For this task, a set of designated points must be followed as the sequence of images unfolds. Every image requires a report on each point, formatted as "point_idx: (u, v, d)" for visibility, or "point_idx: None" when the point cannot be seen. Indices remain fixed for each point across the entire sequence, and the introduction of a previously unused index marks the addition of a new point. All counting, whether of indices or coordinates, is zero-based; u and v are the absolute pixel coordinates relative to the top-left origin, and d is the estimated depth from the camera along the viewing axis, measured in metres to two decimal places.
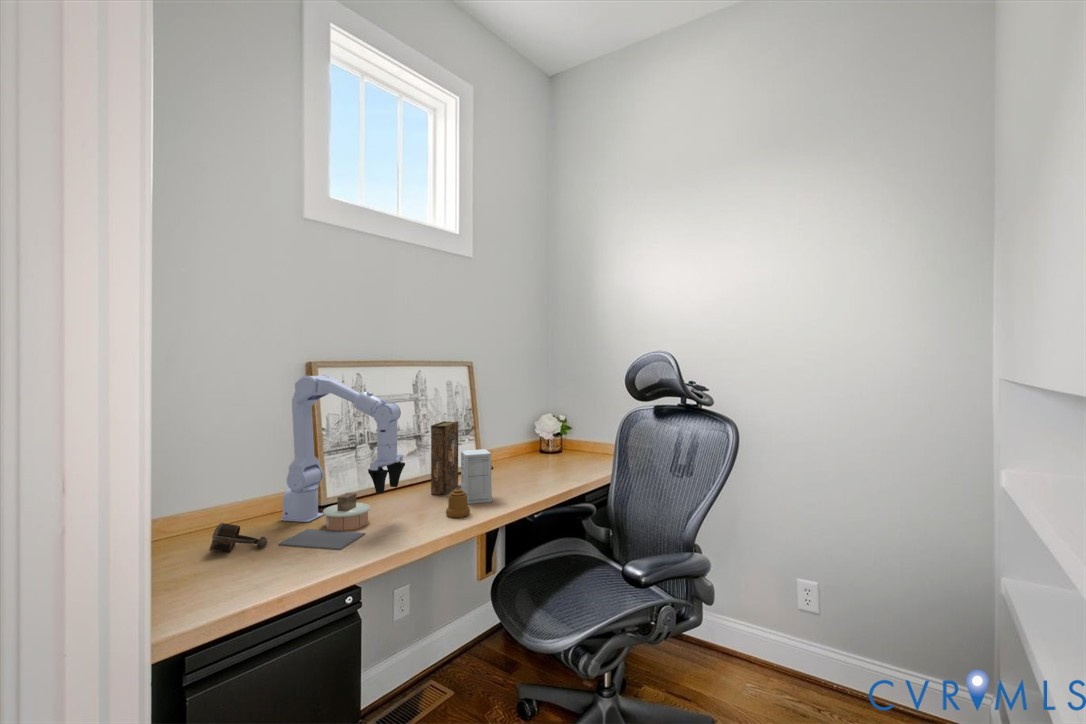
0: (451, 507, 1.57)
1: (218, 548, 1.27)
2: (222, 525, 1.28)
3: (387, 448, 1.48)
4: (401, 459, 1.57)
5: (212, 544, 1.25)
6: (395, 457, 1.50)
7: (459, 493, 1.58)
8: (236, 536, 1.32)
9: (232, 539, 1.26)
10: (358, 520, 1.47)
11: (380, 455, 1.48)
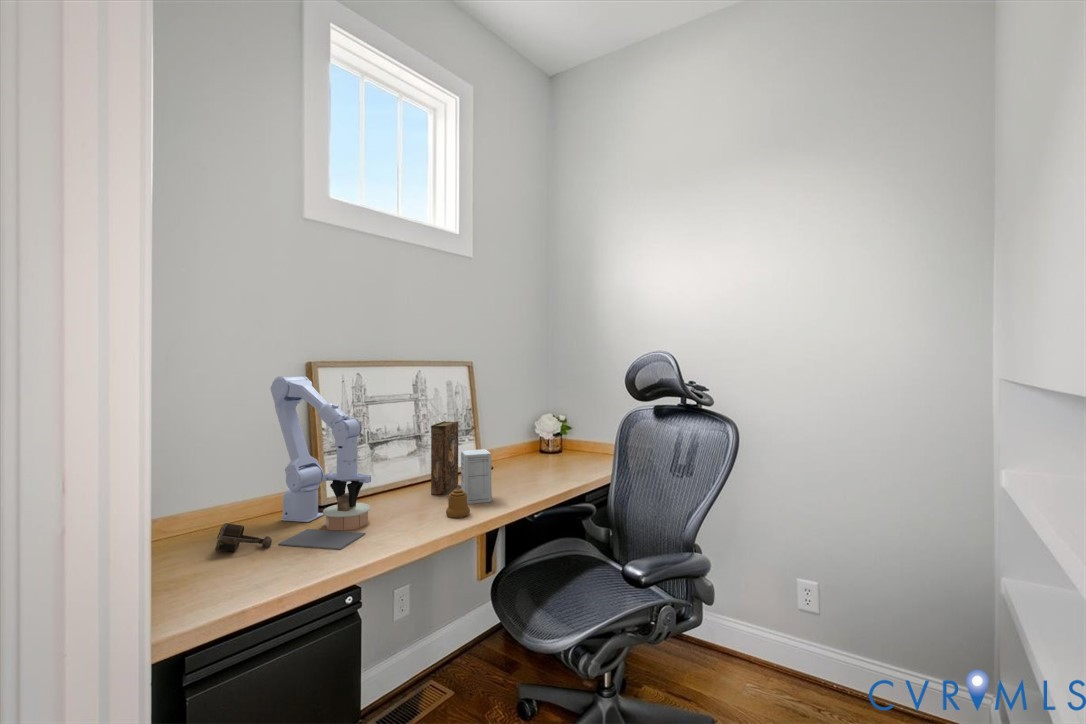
0: (451, 507, 1.57)
1: (223, 548, 1.27)
2: (227, 525, 1.28)
3: None
4: (365, 481, 1.48)
5: (217, 544, 1.25)
6: (341, 475, 1.47)
7: (459, 493, 1.58)
8: (240, 536, 1.32)
9: (237, 539, 1.26)
10: (358, 520, 1.47)
11: None
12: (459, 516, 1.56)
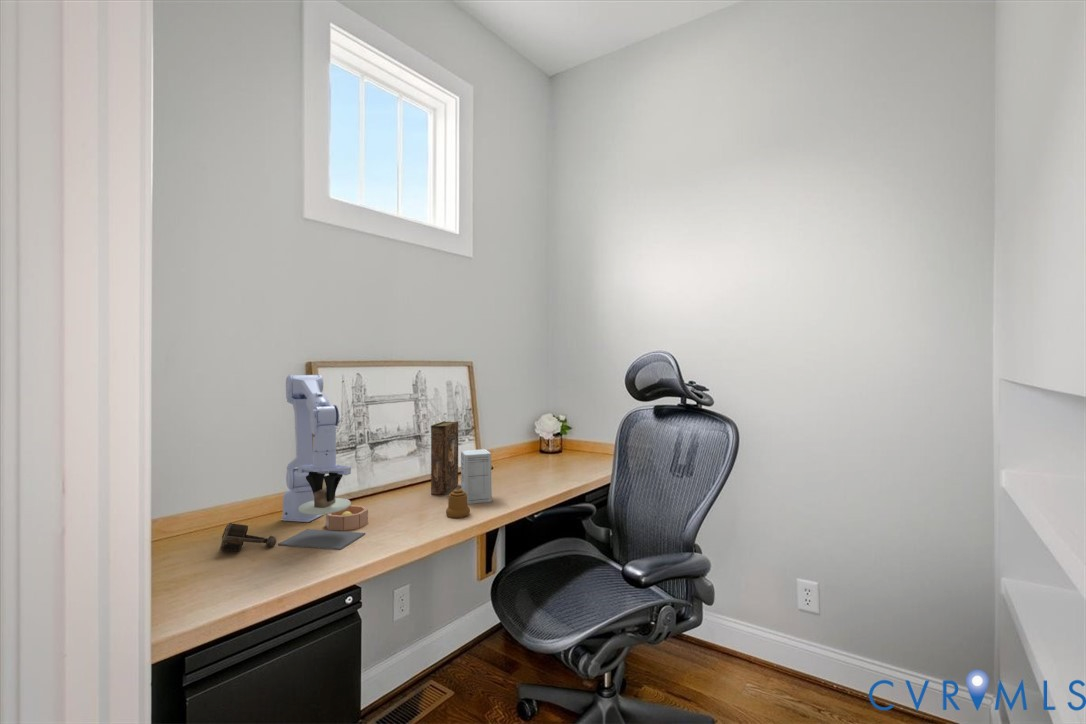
0: (451, 507, 1.57)
1: (228, 548, 1.27)
2: (231, 525, 1.28)
3: (313, 454, 1.37)
4: (344, 473, 1.35)
5: (222, 544, 1.25)
6: (317, 466, 1.35)
7: (459, 493, 1.58)
8: (244, 536, 1.32)
9: (242, 539, 1.26)
10: (358, 520, 1.47)
11: None
12: (459, 516, 1.56)
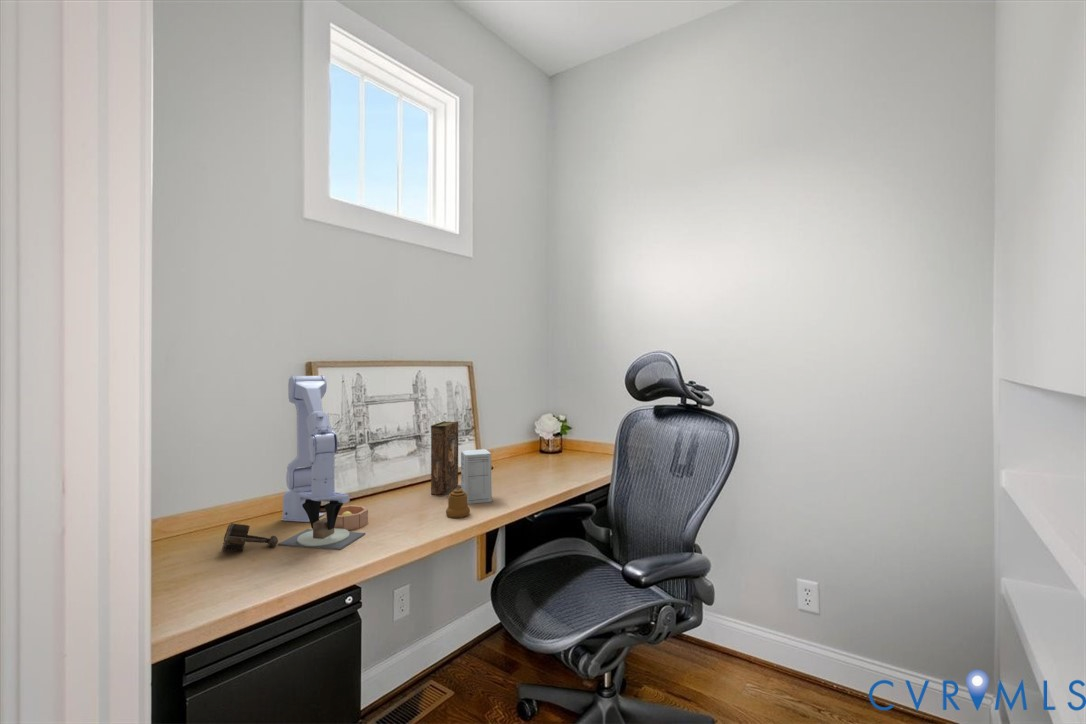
0: (451, 507, 1.57)
1: (230, 548, 1.26)
2: (233, 525, 1.28)
3: (311, 481, 1.36)
4: (343, 501, 1.35)
5: (224, 544, 1.25)
6: (316, 494, 1.34)
7: (459, 493, 1.58)
8: None
9: (245, 539, 1.26)
10: (358, 520, 1.47)
11: None
12: (459, 516, 1.56)
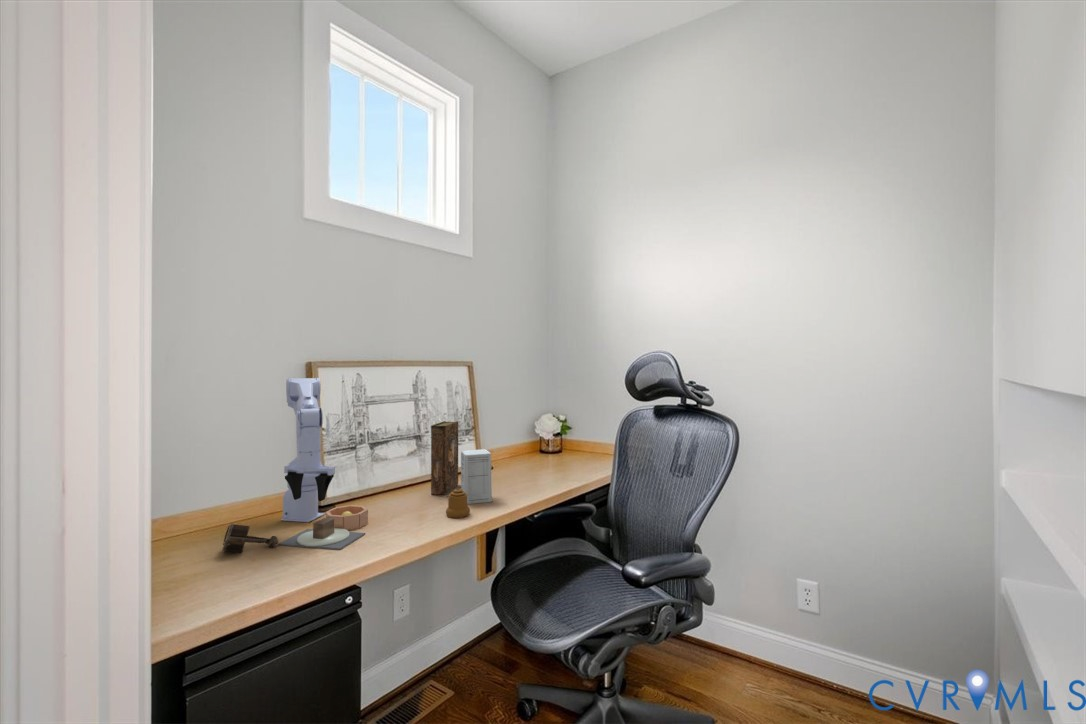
0: (451, 507, 1.57)
1: (230, 549, 1.26)
2: (233, 526, 1.27)
3: (298, 454, 1.41)
4: (328, 473, 1.40)
5: (225, 545, 1.25)
6: (302, 466, 1.40)
7: (459, 493, 1.58)
8: None
9: (246, 539, 1.26)
10: (358, 520, 1.47)
11: None
12: (459, 516, 1.56)
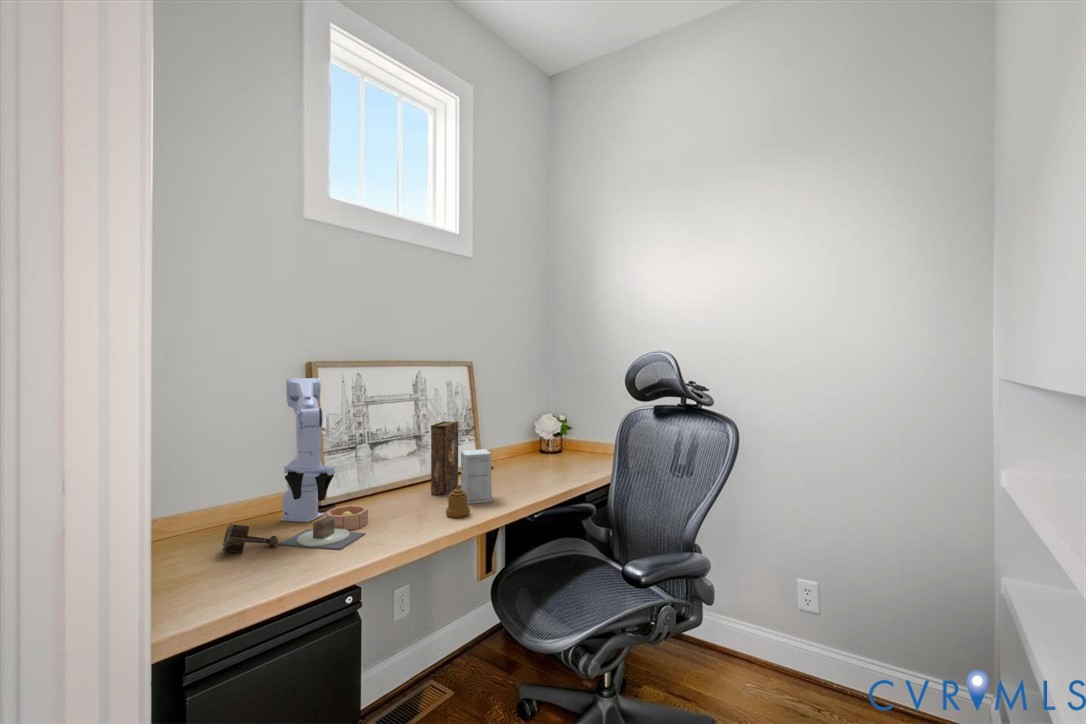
0: (451, 507, 1.57)
1: (230, 549, 1.26)
2: (233, 526, 1.27)
3: (298, 454, 1.41)
4: (328, 473, 1.40)
5: (225, 545, 1.24)
6: (302, 466, 1.40)
7: (459, 493, 1.58)
8: None
9: (246, 539, 1.26)
10: (358, 520, 1.47)
11: None
12: (459, 516, 1.56)
